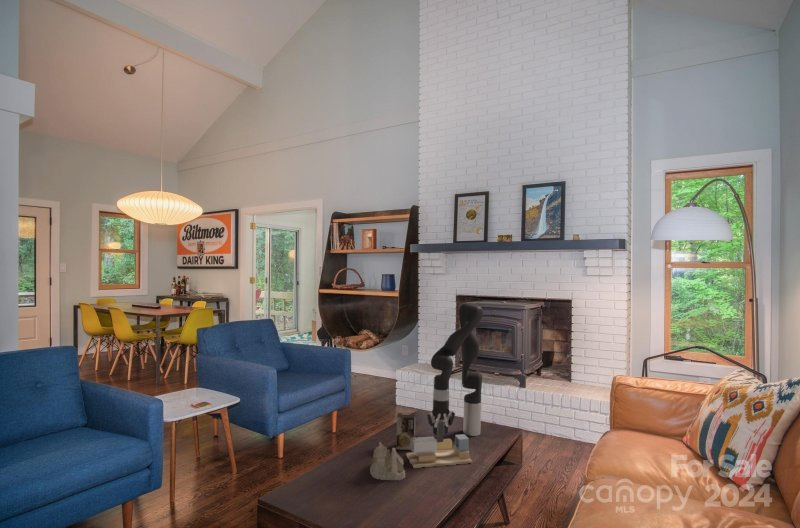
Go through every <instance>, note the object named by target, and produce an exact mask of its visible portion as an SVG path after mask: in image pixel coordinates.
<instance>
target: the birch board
mask: <svg viewBox="0 0 800 528" xmlns="http://www.w3.org/2000/svg"><path fill="white" fill-rule="evenodd" d="M435 455H436V462H428V463H418V461H417V459H416V458H415V456H414V454H413V452H412V451H411V452H405V456H406V458H407V460H408V459H409V460H408V461H409V463H410V465H411V464H412V465H411V466H413V467H412V469H421V468H422V467H425V468H433V466H437V467H445V466H446V465H449V466H457V465H456V464H461V465H469V464H468V463H472V464H473V460H472V459H471V458H465V459H459V457H458V456H457V455H456V454H455V453H454V448H452V449H440V450H437V453H435Z"/></svg>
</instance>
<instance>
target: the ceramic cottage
mask: <svg viewBox="0 0 800 528" xmlns="http://www.w3.org/2000/svg"><path fill="white" fill-rule="evenodd" d="M387 448H388V447H386V446H384V444H382V442H381V441H379V443H378V446H377V447H376V446H375V449H374V450H373V456H372V463H371V465H370V467H369V473H370V476H371V475H372V476H371V477H372V478H374V479H376V480H379V479H380V480H381V481H396V480H398V481H402V480H404V479H406V476H405V475H406V470H405V469H404V459H403V458H402V457H401V455H400V454H399V453H398V452H397V449H396V447H392V448H391V451H390V449H387ZM403 478H404V479H403ZM401 479H402V480H401Z"/></svg>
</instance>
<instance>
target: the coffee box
mask: <svg viewBox="0 0 800 528" xmlns="http://www.w3.org/2000/svg"><path fill="white" fill-rule="evenodd" d="M411 438H416V413H412V412H409V413H408V412H397V414H396V438H395V439H396V445H395V446H396V447H395V449H396V450H407V451H411Z"/></svg>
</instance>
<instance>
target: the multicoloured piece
mask: <svg viewBox="0 0 800 528" xmlns="http://www.w3.org/2000/svg"><path fill="white" fill-rule="evenodd" d="M444 435H445V434H444V421H443V420H439V422H438V423H437V435H436V438H435V439H436V441H437V450H448V449H453V440H452V439H451V438H444Z"/></svg>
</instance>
